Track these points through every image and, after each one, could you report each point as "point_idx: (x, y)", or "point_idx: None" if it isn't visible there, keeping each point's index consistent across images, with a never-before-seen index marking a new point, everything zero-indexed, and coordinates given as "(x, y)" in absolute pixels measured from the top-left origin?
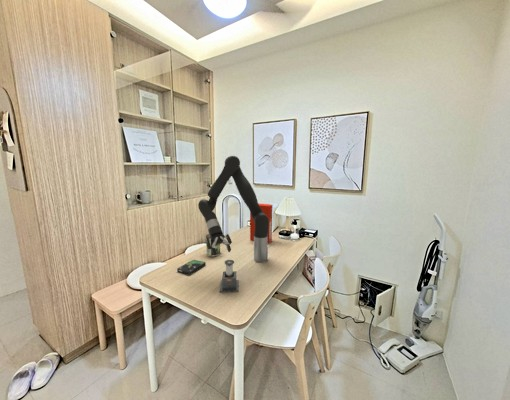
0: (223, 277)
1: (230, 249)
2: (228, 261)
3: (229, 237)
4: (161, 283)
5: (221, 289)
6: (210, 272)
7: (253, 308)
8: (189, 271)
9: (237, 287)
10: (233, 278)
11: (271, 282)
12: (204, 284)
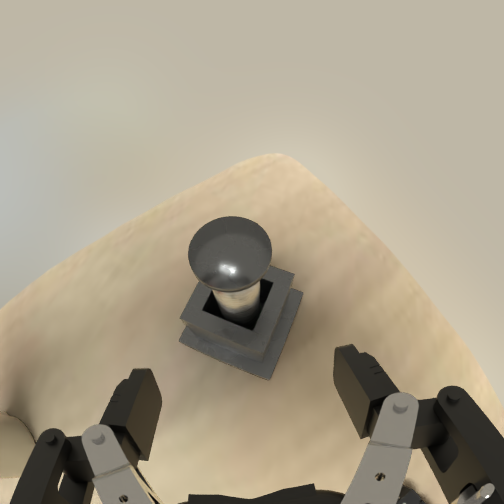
0: (282, 284)
1: (127, 382)
2: (233, 257)
3: (18, 499)
4: None
5: (291, 299)
6: None
7: (218, 177)
8: (409, 497)
9: None
10: None
11: (80, 267)
12: None
